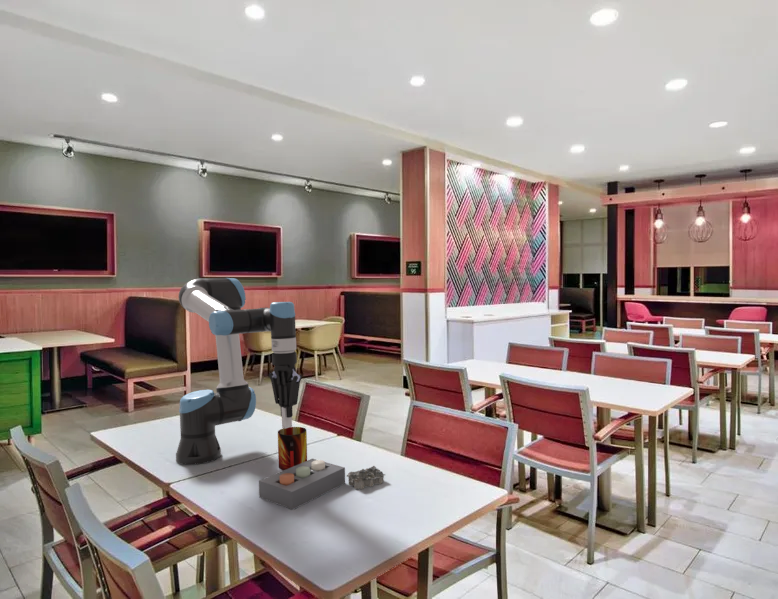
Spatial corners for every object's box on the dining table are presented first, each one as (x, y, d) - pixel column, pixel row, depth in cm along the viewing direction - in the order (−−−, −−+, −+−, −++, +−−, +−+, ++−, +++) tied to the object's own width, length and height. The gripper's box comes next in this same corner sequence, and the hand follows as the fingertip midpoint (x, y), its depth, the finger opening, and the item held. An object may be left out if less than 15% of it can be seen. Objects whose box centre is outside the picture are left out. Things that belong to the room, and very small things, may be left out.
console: (259, 497, 153) (258, 480, 153) (312, 473, 171) (312, 458, 171) (292, 509, 145) (292, 491, 145) (345, 483, 163) (344, 467, 162)
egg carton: (356, 492, 157) (355, 478, 157) (345, 483, 163) (344, 470, 163) (387, 483, 162) (386, 470, 162) (375, 475, 169) (374, 463, 169)
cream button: (308, 473, 163) (308, 463, 162) (318, 469, 166) (318, 459, 166) (318, 476, 160) (318, 465, 160) (328, 471, 163) (327, 461, 163)
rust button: (276, 487, 152) (276, 476, 152) (287, 482, 155) (287, 472, 155) (286, 490, 150) (286, 479, 149) (297, 485, 153) (297, 475, 153)
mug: (291, 477, 168) (290, 440, 168) (273, 464, 180) (273, 430, 179) (318, 470, 174) (317, 434, 174) (299, 458, 185) (298, 425, 185)
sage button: (293, 480, 157) (293, 469, 157) (303, 475, 161) (303, 465, 161) (303, 483, 155) (302, 472, 155) (313, 478, 158) (313, 468, 158)
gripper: (260, 352, 163) (264, 427, 164) (289, 354, 155) (292, 433, 156) (279, 349, 169) (282, 421, 170) (307, 351, 161) (310, 427, 162)
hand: (287, 427), depth 163 cm, fingers closed
